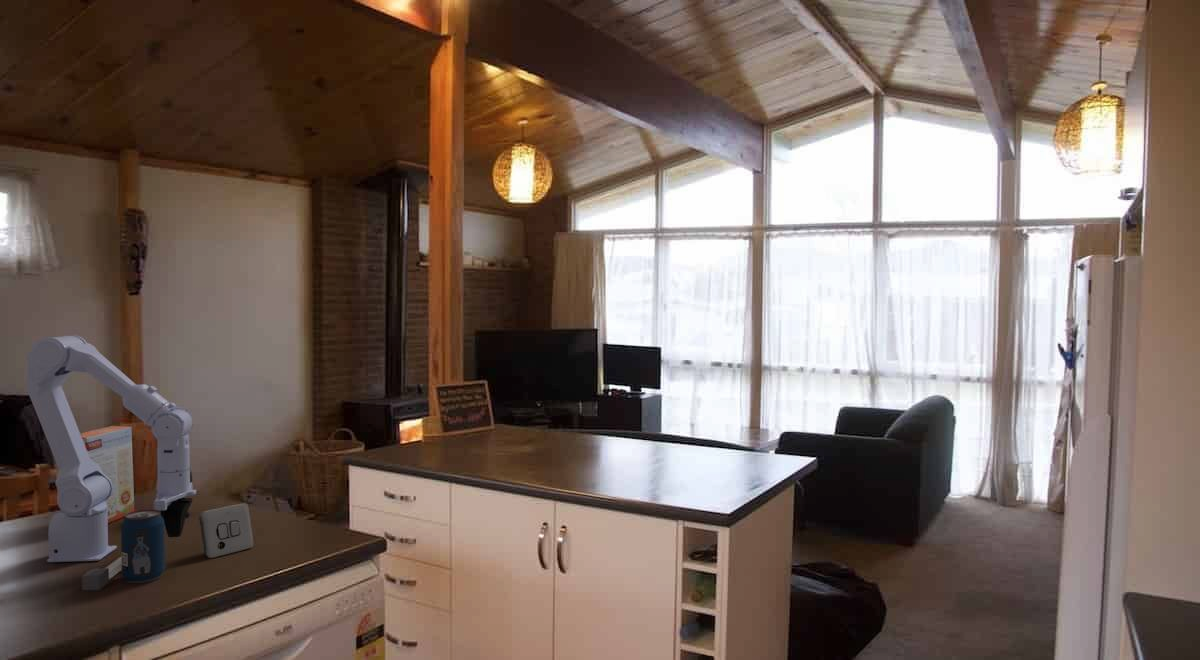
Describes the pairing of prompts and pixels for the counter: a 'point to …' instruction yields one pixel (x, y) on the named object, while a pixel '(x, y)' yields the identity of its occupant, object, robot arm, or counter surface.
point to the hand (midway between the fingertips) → (174, 536)
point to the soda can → (142, 546)
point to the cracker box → (114, 465)
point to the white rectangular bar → (100, 576)
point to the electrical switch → (226, 530)
